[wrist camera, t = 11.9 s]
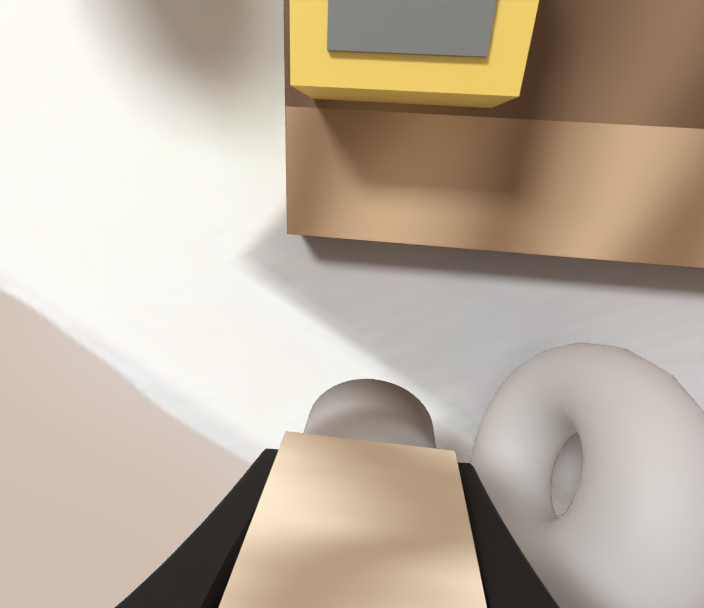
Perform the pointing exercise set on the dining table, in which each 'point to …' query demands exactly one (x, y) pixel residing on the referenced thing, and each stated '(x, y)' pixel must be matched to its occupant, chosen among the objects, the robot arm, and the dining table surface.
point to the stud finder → (411, 50)
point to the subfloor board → (526, 148)
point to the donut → (600, 477)
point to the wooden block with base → (360, 513)
